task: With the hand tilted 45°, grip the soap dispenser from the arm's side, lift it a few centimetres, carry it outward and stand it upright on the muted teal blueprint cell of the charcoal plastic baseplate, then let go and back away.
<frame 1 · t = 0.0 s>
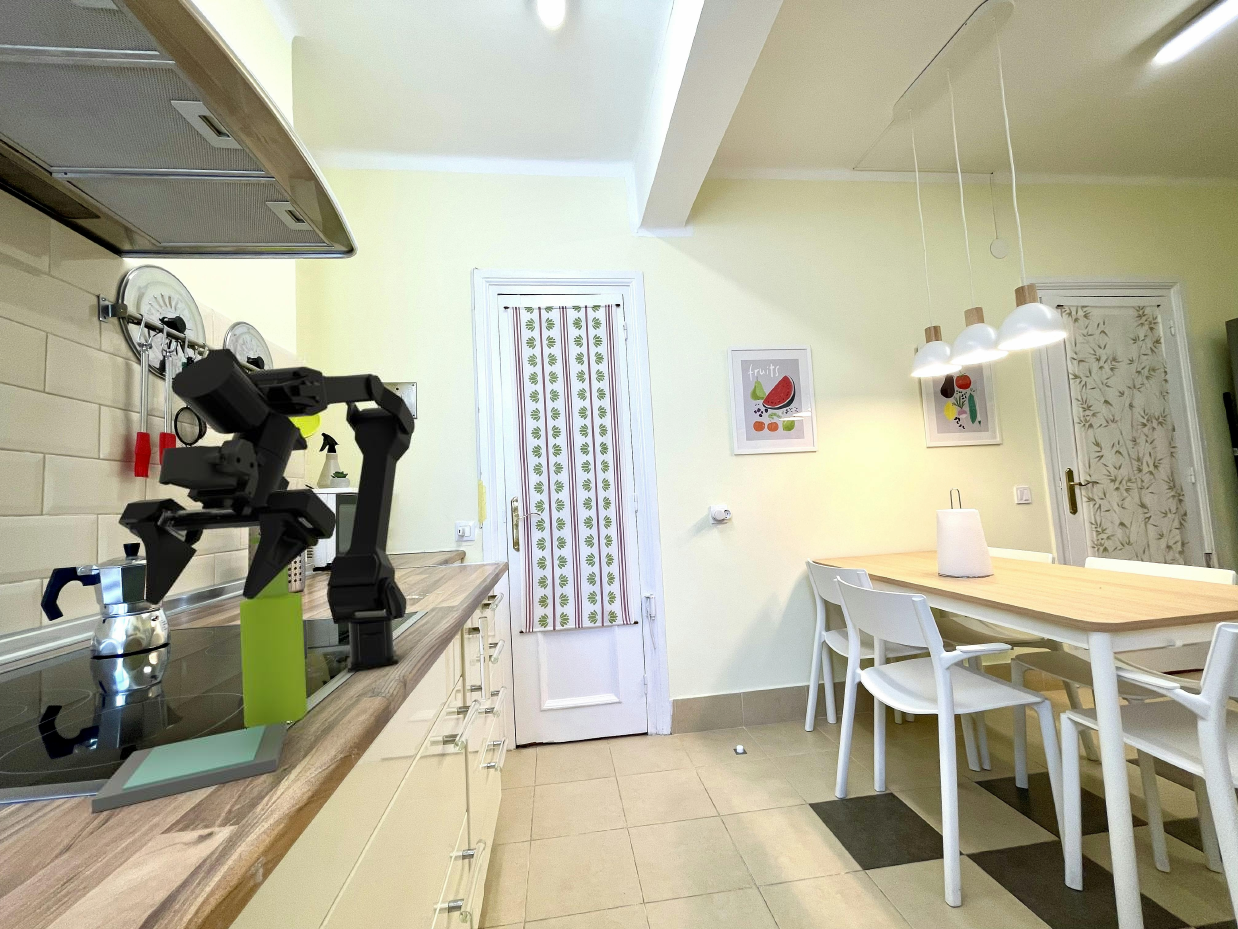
hand: (198, 600, 53), 15 cm above the countertop, tool tilted 35°, fingers open, 9 cm apart
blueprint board: (202, 766, 53), on the countertop
soap dispenser: (281, 720, 64), on the countertop
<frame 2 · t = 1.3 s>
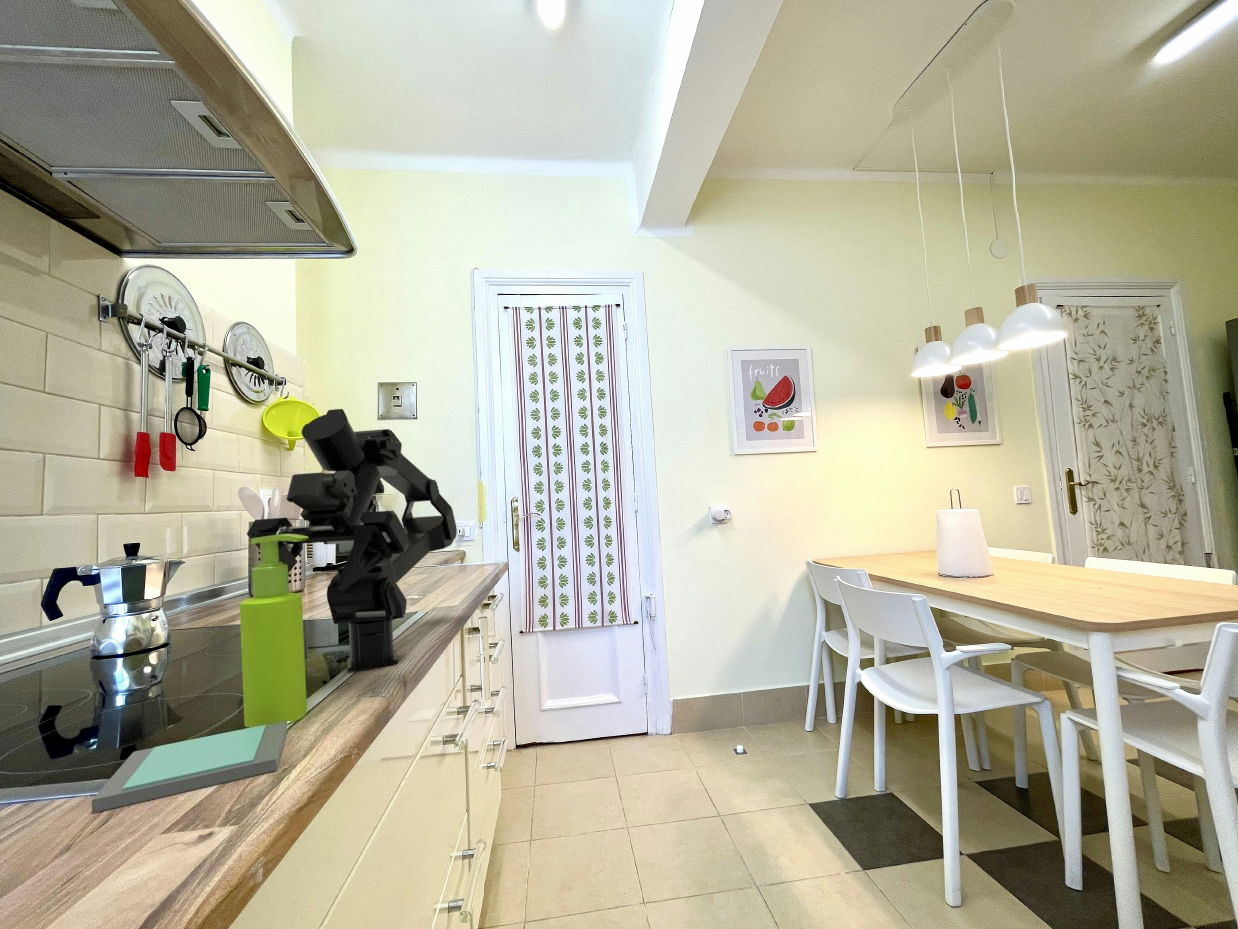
hand: (303, 590, 69), 13 cm above the countertop, tool tilted 45°, fingers open, 9 cm apart
nothing on the countertop moved.
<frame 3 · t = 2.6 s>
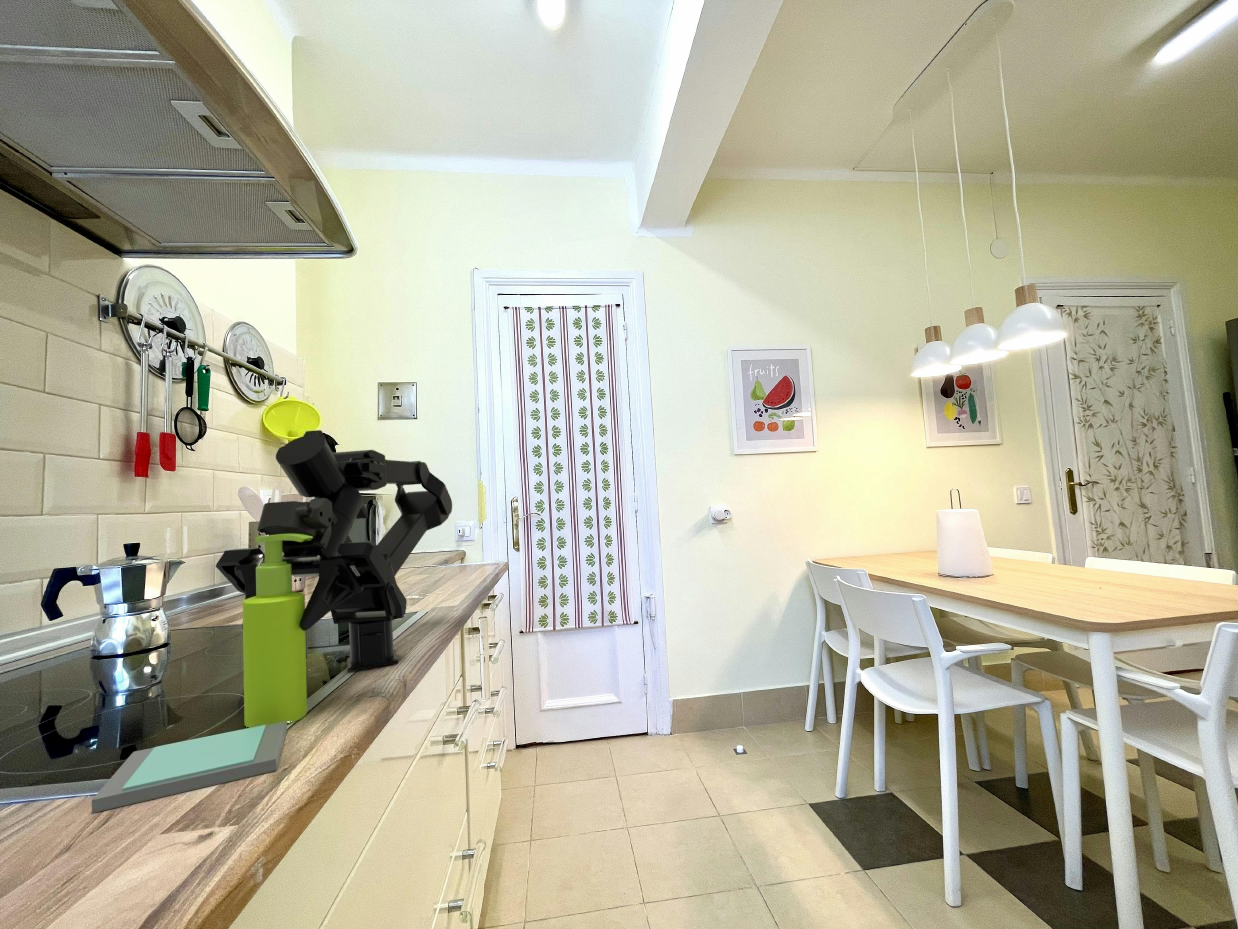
hand: (274, 630, 64), 10 cm above the countertop, tool tilted 45°, fingers closed on soap dispenser, 6 cm apart
soap dispenser: (281, 720, 64), on the countertop, touching gripper
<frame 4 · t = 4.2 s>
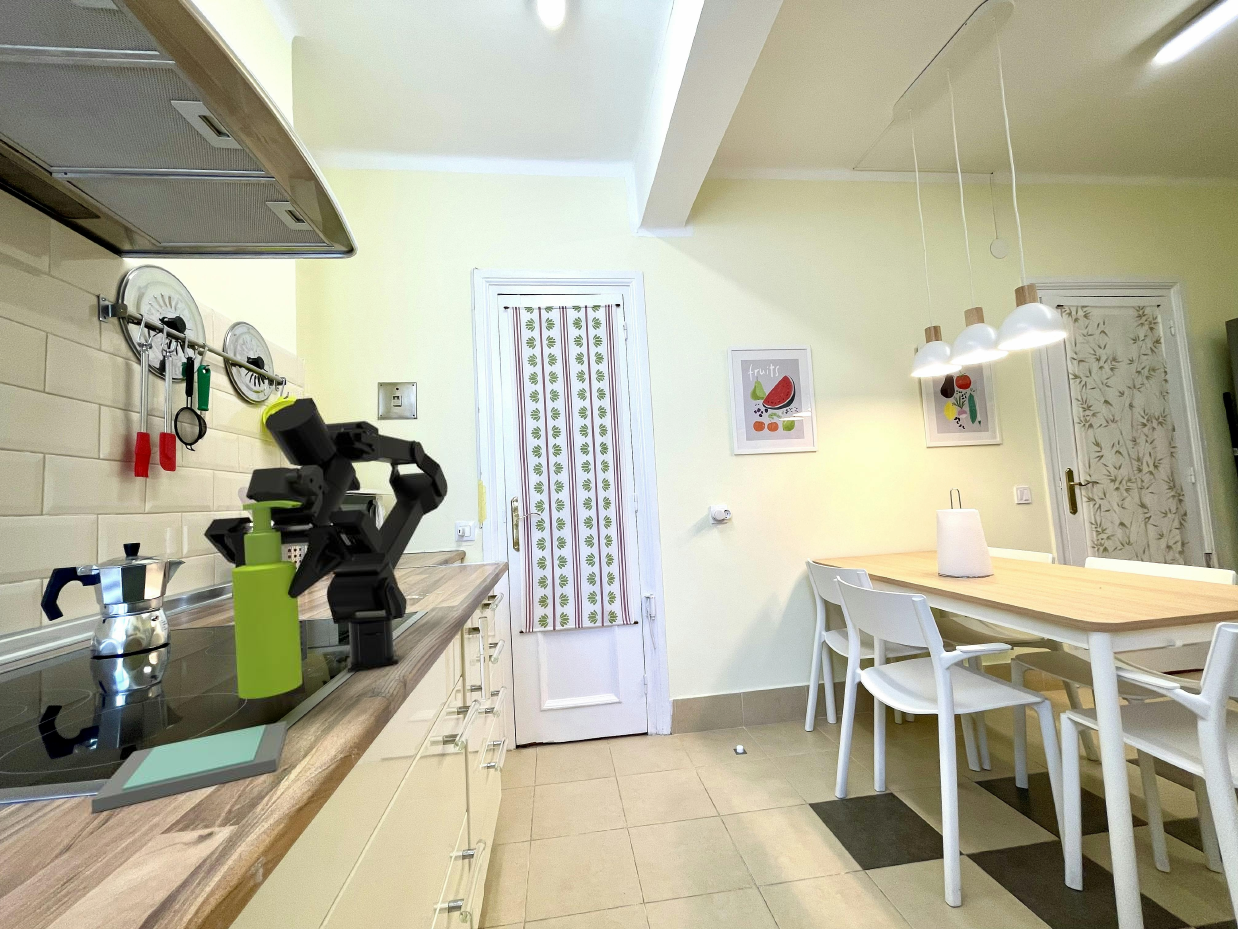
hand: (263, 597, 62), 13 cm above the countertop, tool tilted 45°, fingers closed on soap dispenser, 6 cm apart
soap dispenser: (276, 690, 62), point 4 cm above the countertop, touching gripper
when the fingers open (11 cm above the countertop, at t = 5.8 s): soap dispenser stays where it is, resting on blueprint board.
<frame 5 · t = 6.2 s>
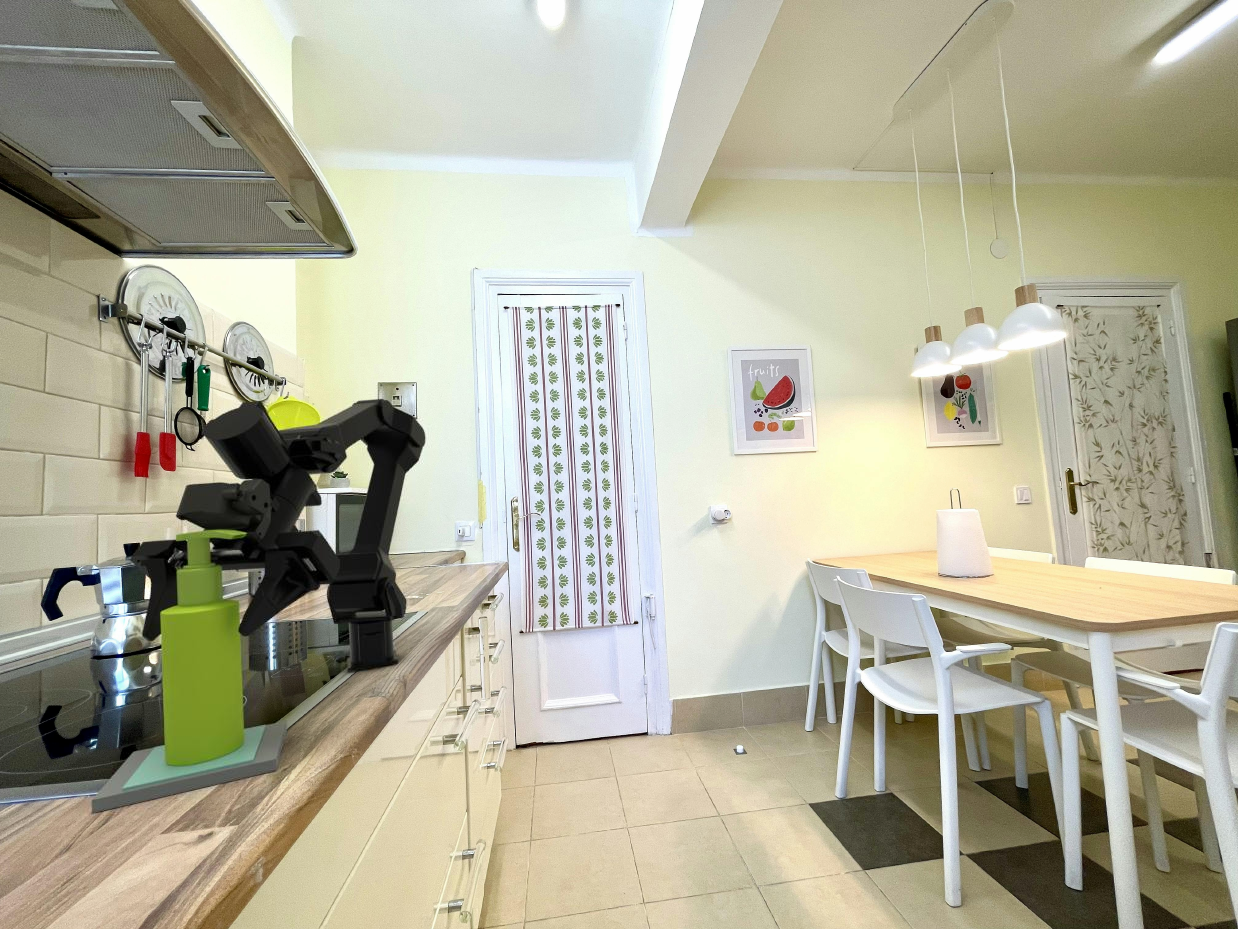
hand: (194, 636, 53), 12 cm above the countertop, tool tilted 45°, fingers open, 9 cm apart
soap dispenser: (211, 752, 53), point 1 cm above the countertop, touching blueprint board
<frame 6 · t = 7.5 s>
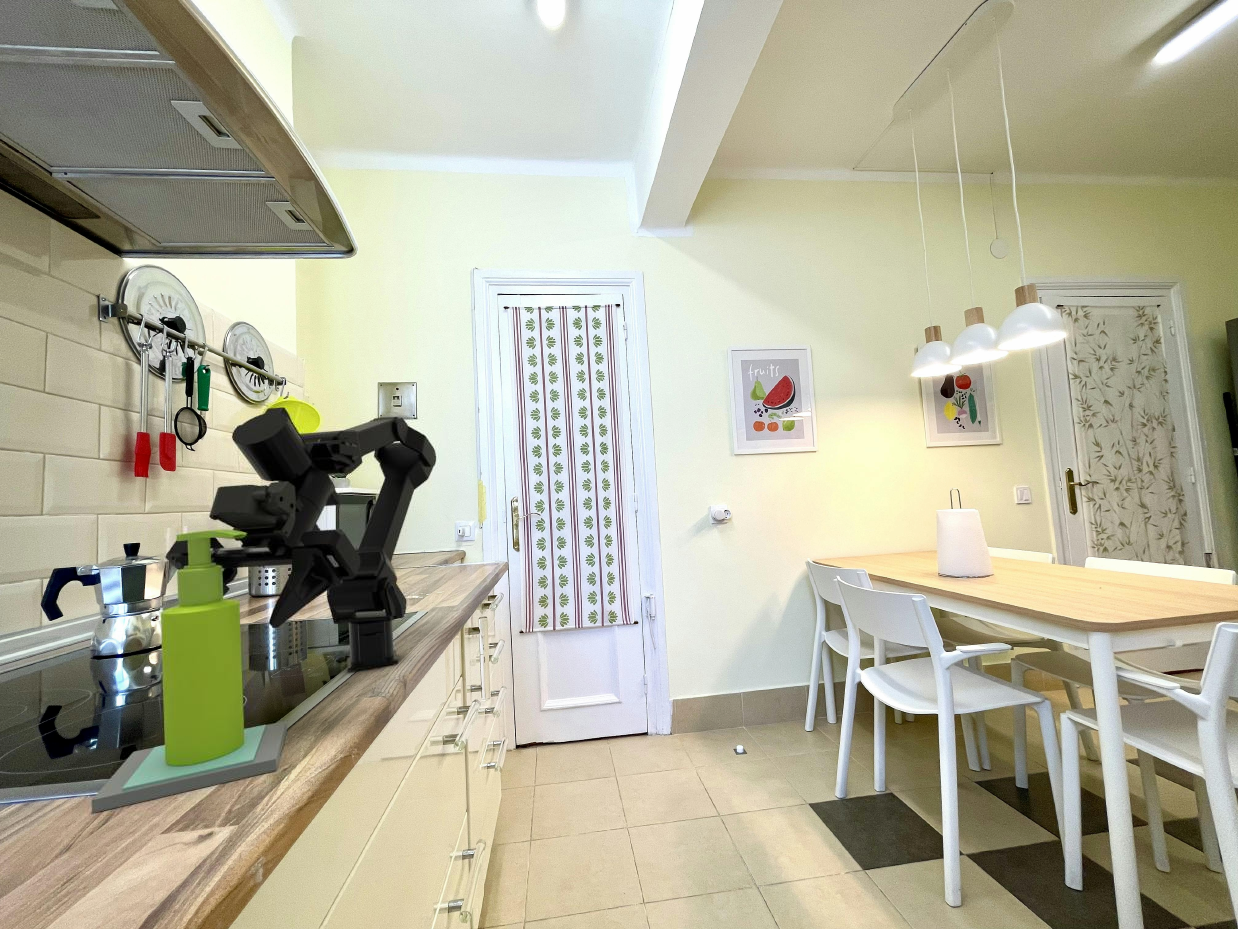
hand: (227, 628, 57), 12 cm above the countertop, tool tilted 45°, fingers open, 9 cm apart
nothing on the countertop moved.
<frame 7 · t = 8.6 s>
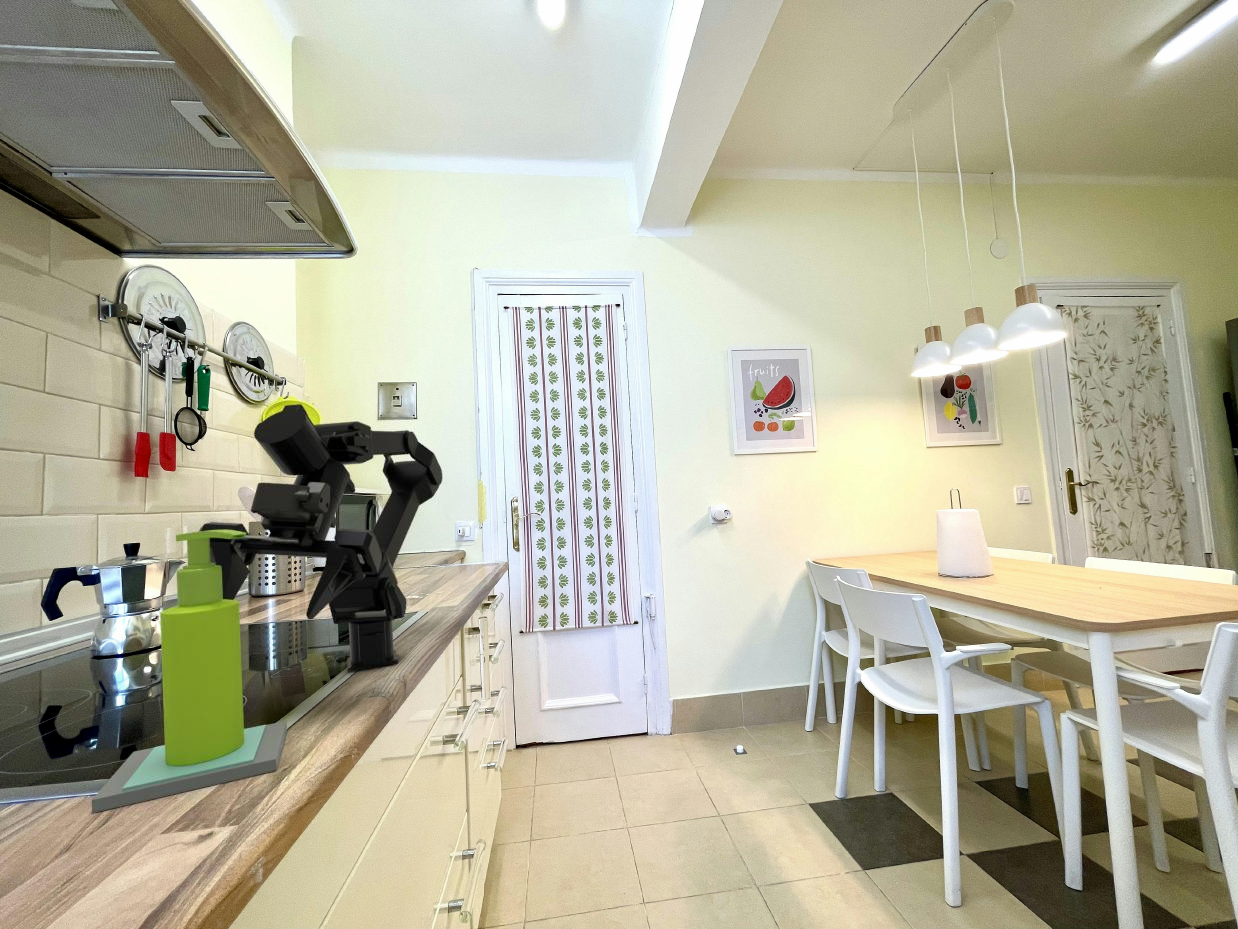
hand: (263, 615, 62), 12 cm above the countertop, tool tilted 40°, fingers open, 9 cm apart
nothing on the countertop moved.
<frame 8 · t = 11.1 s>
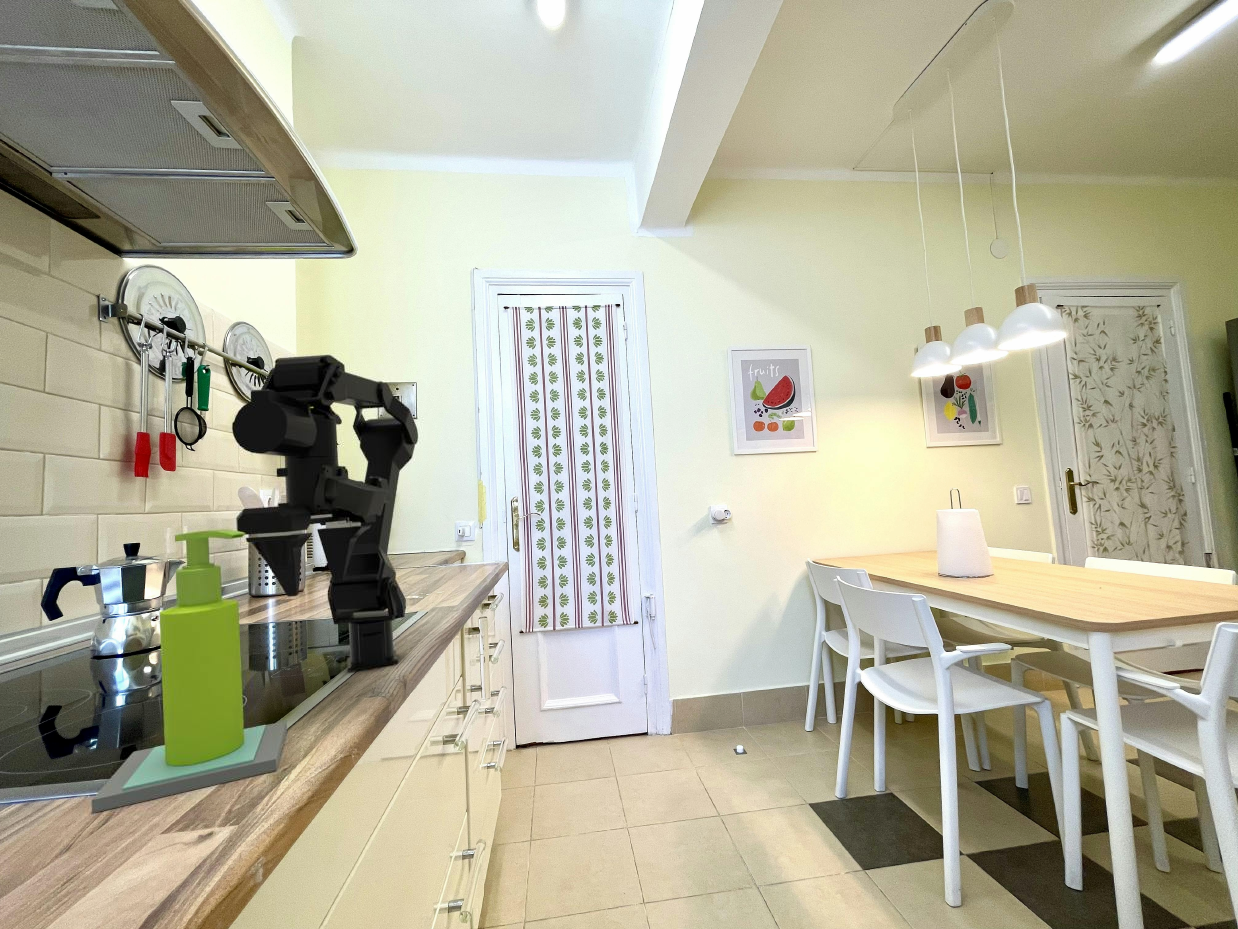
hand: (317, 588, 70), 13 cm above the countertop, tool pointing down, fingers open, 9 cm apart
nothing on the countertop moved.
at the end: soap dispenser 0.7 cm off-centre on the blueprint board, point 1.0 cm above the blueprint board's base; soap dispenser tilted 0°; the gripper is holding nothing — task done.
